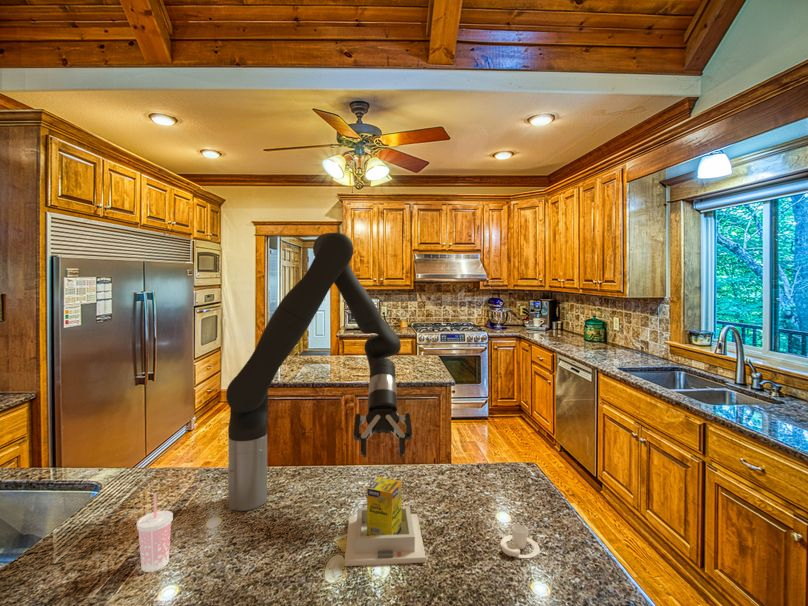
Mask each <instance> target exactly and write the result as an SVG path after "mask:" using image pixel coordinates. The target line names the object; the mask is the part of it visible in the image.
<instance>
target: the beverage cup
mask: <svg viewBox="0 0 808 606" xmlns="http://www.w3.org/2000/svg"><path fill="white" fill-rule="evenodd" d="M173 519H174V513H173V512H172V511H170V510H157V492H154V493H153V511H152V512H150V513H148V514H147V513H146V514H145V515H143V516H141V517H140V518H139V519H138V520H137V521H136V529H137V531H138V540H139V551H140V552H139V554H140V564H141V570H142V571H143V572H146V573H152V572H156V571H159V570H162V568H164V567H165V566H167V565H168V563H169V561H170V548H171V547H170V546H171V531H172V529H171V528H172V522H173Z"/></svg>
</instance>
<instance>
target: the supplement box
mask: <svg viewBox="0 0 808 606" xmlns="http://www.w3.org/2000/svg"><path fill="white" fill-rule="evenodd" d="M402 484H403V482H402V481H401V480H396V479H390V478H384V477H381V476H378V477H377V478H376V479H375V481H374V482H372V483H371V484H370V485H369V486H368V487H367V488H366V508H367V536H377V535H398V533H399V532H400V531H401V512H402V511H401V510H402V506H403V505H402V500H403V499H402V491H403V489H402Z"/></svg>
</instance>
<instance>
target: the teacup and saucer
mask: <svg viewBox="0 0 808 606" xmlns="http://www.w3.org/2000/svg"><path fill="white" fill-rule="evenodd" d="M511 532H512V533H511V534H508V535H506V536H504V537H502V539H501V540H500V542H499V543H500V547H501V551H502V552H503V553H504V554H506V555H507V556H510V557H515V558H517V559H518V558H519V559H532V558H535V557H537V556H538V555H539V553H540V549H541V548H540V546H539V544H538V543H537V541H535V540H534V539H532V538H530V537H528V536H529V532H530V530H529V527H527V526H524V525H521V524H514V525H512V527H511ZM510 540H512V543H510V542H508V541H510ZM527 542H528V543H529V544H530V545H531V546H532V548H533V551H532V552H531V553H529V554H521V550H524V549H525V548H526V545H527Z"/></svg>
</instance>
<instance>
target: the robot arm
mask: <svg viewBox="0 0 808 606" xmlns="http://www.w3.org/2000/svg"><path fill="white" fill-rule="evenodd" d="M312 252H313V256H314V258H313V260H312V262H311V264H310V266H309V268H308V270H307V271H306V273H305V274H304V275H303V276H302V278H301V279H300V280H299V281H298V282H297V283H296V284H295V285H294V286H293V287H292V288H291V289H290V290H289V291H288V292H287V293H286V294H285V296H284V297H283V298H282V300H281V301H280V302H279V304H278V305H277V307H276V308H275V310H274V311H273V313H272V315H271V317H270V319H269V321H268V322H267V324H266V326H265V328H264V330H263V332H262V334H261V336H260V338H259V340H258V342H257V345H256V347H255V348H254V351H253V353H252V354H251V355H250V357H249V359H248V361H247V362H246V363H245V364H244V366H243V367H242V368H241V369H240V371H239V372H238V373H237V375H236V376H234V378H232V380H231V382H230V383H229V384H228V386H227V389H226V391H225V392H226V393H225V394H226V395H225V396H226V402H227V404H228V406H229V408H230V415H229V423H228V427H227V428H228V429H227V430H228V434H227V435H228V464H227V465H228V466H227V469H228V471H227V476H228V479H227V480H228V484H227V485H228V487H227V488H228V489H227V490H228V511H229V512H231V511H239V512H243V511H246V512H247V511H250V510H255V509H257V508H259V507H261V506H262V505H264V504H265V503H267V500H268V421H269V388H270V386H271V384H272V382H273V380H274V378H275V376H276V375H277V373H278V371H279V369H280V367H281V366H282V365H283V363H284V362H285V361H286V359H287V358H288V357H289V355H290V354H291V353H292V352H293V350H294V349H295V347H296V346H297V344H298V343H299V342H300V340H301V339H302V337H303V336H304V334H305V332H306V331H307V330H308V328H309V326H310V325H311V324H312V321H313V320H314V317H315V315H316V314H317V312H318V310H319V308H320V307H321V305H322V303H323V302H324V300H325V298H326V296H327V295H328V293H329V291H330V290H331V288H332V286H333V285H335V287H336V288H337V289H338V291H339V293H340V295H341V297H342V299H343V300H344V303H346V304H345V305H346V306H347V308H348V310H349V312H350V313H351V316H352V317H353V319H354V321H355V323H356V325H357V326H358V329H359V331H360V332H361V333H362V334H365V335H366V334H367V335H369V334H370V335H371V334H376V335H374V336H372V337H369V338H367V340H366V341H365V342H364V346H363V349H364V353H365V356H366V358H367V361H368V367H369V384H368V394H367V395H368V402H367V403H368V405H367V414H366V415H361V414H360V413H356V414H355V419H354V427H353V440H354V441H359V442H360V455H361V456H363V458H367V449H368V447H367V446H368V445H367V443H368V442H367V441H368V439H369V438H370V437H371V436H373V434H375V433H376V434H383V433H384V434H390V433H392V435H393V436H394V437H396V438H397V440H398V454H399V455H398V456H399V457H400V458H402V457H403V455H405V453H406V441H407V440H412V437H413V428H412V427H413V426H412V420H411V414H410V413H409V412H407V413H405V414H401V415H400V414H399V412H398V392H397V390H398V389H397V388H398V387H397V382H396V366H395V365H396V364H395V363H394V361H393V360H391V359H389V358H390V357H393V356H396V355H398V353H400V351H401V348H402V344H401V343H402V342H401V340H400V338H399V336H398V334H397V333H396V332H395V331H394V330H393V329H392V328H391V327H390V326H389V325H388V323H386V322H385V320H384V319H383V318H382V316H381V314H380V312H379V310H378V308H377V307H376V304H375V302H374V300H373V299H372V297H371V296H370V294H369V293H368V291H367V290H366V289H365V287H364V286H363V285H362V283H361V282H360V281H359V279H358V278H357V276H356V275H355V272H354V271H353V269H352V266H351V265H350V262H351V260H352V259H353V255H354V245H353V242H352V239H351V238H350V237H348V235H346V234H345V233H341V232H327V233H323V234H320V235H319V236H318V237H317V238H315V240H314V243H313V246H312ZM364 422H366V423H367V427H366V428H365V430H364V431H363V432H362V433H361V432H360V429H361V426H362V425H363V424H364ZM399 422H401V423H402V424H403V425H405V432H404V431H403V430H402V429H401V428H400V426H399V425H398V423H399Z"/></svg>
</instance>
